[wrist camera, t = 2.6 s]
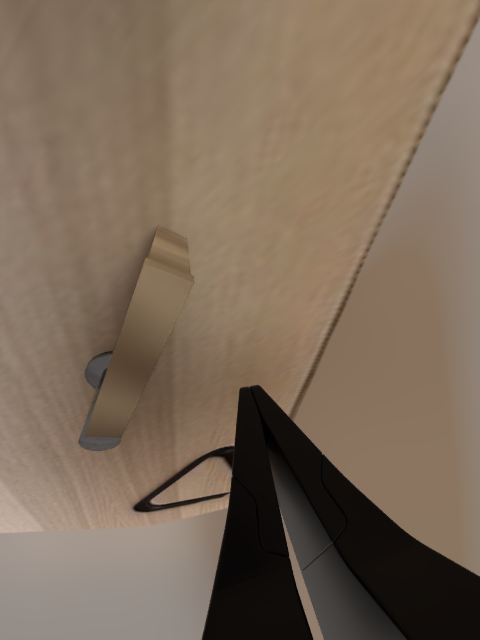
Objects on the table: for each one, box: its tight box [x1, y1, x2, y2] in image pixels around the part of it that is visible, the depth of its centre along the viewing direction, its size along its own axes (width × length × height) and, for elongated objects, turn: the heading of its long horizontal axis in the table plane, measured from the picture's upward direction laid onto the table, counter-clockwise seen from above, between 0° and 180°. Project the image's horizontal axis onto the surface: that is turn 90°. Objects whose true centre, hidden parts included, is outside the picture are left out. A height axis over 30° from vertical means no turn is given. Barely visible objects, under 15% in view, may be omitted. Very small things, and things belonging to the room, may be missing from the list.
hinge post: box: [79, 351, 121, 451], centre depth 16 cm, size 4×4×6 cm
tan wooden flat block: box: [85, 225, 194, 438], centre depth 13 cm, size 10×2×6 cm, turn 151°
